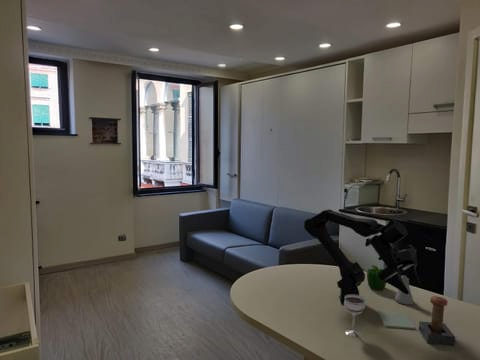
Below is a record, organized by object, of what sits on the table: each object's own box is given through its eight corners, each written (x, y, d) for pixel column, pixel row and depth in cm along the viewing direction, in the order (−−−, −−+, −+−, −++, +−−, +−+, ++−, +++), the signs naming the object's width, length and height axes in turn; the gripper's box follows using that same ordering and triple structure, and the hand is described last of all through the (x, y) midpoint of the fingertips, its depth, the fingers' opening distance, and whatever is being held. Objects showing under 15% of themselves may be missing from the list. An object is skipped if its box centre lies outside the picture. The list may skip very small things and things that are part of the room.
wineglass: (347, 325, 125) (348, 292, 123) (366, 332, 120) (368, 298, 119) (339, 333, 119) (340, 299, 118) (359, 341, 115) (361, 305, 114)
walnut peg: (430, 340, 116) (433, 302, 114) (425, 332, 120) (428, 295, 119) (446, 342, 115) (450, 303, 113) (440, 333, 120) (443, 296, 118)
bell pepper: (388, 286, 156) (390, 264, 155) (384, 293, 149) (386, 270, 148) (368, 282, 161) (370, 260, 159) (364, 288, 154) (365, 266, 152)
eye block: (427, 343, 114) (428, 334, 114) (418, 329, 122) (419, 321, 122) (454, 345, 113) (455, 336, 113) (443, 331, 121) (444, 323, 121)
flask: (416, 306, 139) (418, 281, 137) (396, 304, 140) (398, 279, 139) (411, 297, 146) (413, 274, 144) (392, 296, 147) (393, 272, 146)
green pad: (384, 326, 124) (384, 325, 124) (377, 312, 133) (378, 311, 133) (415, 329, 122) (415, 327, 122) (406, 314, 132) (406, 313, 132)
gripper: (388, 244, 118) (420, 287, 111) (414, 233, 130) (444, 272, 123) (365, 260, 125) (394, 302, 118) (391, 249, 137) (419, 286, 130)
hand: (414, 290), depth 122 cm, fingers open, 9 cm apart
